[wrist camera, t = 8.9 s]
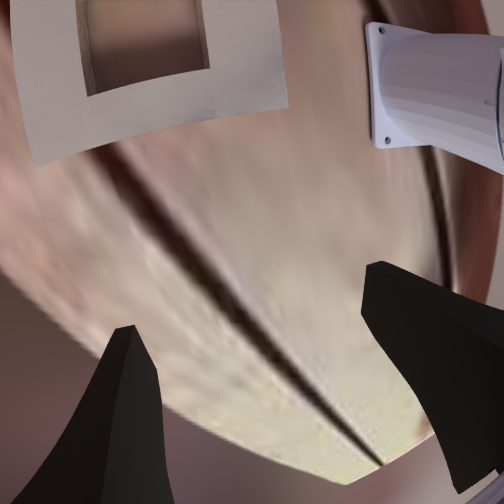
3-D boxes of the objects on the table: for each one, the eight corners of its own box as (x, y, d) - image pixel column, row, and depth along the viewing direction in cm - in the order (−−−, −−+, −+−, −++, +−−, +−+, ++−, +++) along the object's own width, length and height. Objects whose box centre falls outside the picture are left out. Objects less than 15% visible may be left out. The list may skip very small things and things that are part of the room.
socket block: (251, -58, 10) (263, -74, 8) (273, 105, 15) (288, 108, 13) (26, -9, 8) (10, -19, 6) (50, 157, 13) (35, 168, 11)
